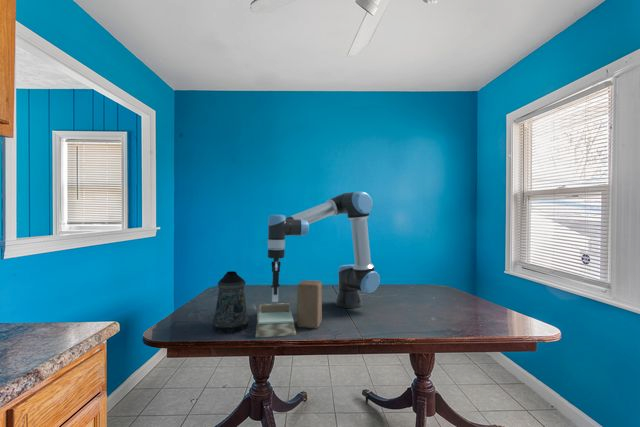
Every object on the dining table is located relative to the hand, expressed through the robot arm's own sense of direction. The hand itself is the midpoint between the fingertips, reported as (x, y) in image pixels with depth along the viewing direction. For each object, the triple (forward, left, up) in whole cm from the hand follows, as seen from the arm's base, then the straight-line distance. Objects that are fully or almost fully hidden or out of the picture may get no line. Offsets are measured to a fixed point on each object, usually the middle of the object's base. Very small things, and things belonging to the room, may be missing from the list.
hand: (275, 301), depth 140 cm
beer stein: (+21, -7, -13) cm, 25 cm away
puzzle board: (0, -8, -13) cm, 15 cm away
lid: (0, 0, -7) cm, 7 cm away
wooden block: (-16, -4, -13) cm, 21 cm away
